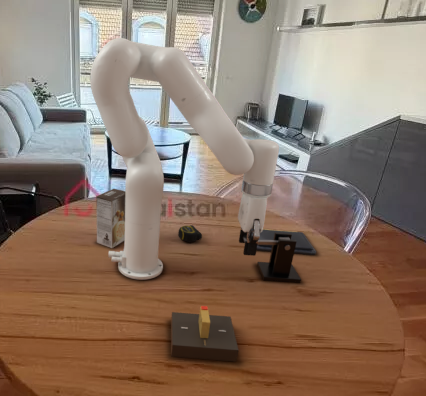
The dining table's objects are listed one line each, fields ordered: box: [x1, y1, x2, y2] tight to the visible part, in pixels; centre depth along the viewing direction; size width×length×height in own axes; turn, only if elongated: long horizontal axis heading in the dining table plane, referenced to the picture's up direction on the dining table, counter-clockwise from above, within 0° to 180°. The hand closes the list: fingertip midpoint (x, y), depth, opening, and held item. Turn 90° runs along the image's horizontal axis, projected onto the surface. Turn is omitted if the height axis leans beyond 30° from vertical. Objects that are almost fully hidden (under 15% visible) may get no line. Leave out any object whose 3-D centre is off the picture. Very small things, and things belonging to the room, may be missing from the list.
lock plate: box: [170, 311, 239, 363], centre depth 77 cm, size 13×10×3 cm
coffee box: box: [95, 188, 125, 249], centre depth 115 cm, size 9×6×16 cm
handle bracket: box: [256, 232, 302, 284], centre depth 102 cm, size 10×8×12 cm
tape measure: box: [177, 225, 203, 243], centre depth 120 cm, size 7×7×4 cm
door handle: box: [243, 235, 290, 245], centre depth 101 cm, size 12×6×2 cm, turn 87°
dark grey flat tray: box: [251, 228, 317, 256], centre depth 122 cm, size 20×2×15 cm
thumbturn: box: [198, 305, 210, 338], centre depth 76 cm, size 5×2×4 cm, turn 176°
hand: (246, 248), depth 102 cm, fingers closed on door handle, 6 cm apart
